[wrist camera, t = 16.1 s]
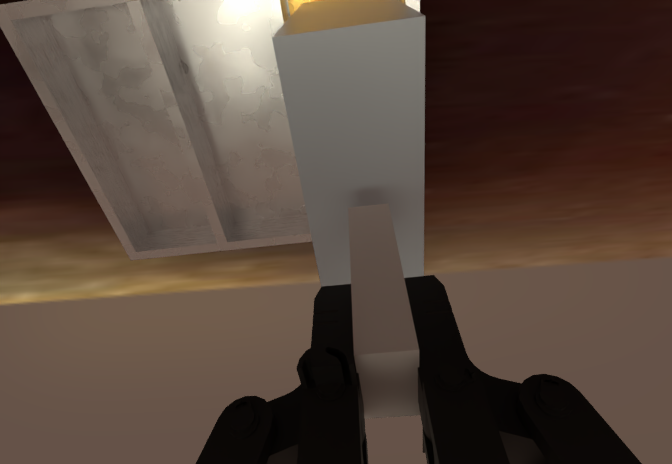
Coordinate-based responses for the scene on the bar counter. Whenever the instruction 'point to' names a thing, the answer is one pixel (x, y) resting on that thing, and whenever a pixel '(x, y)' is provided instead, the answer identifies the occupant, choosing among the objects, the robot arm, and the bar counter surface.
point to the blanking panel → (356, 121)
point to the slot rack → (171, 116)
